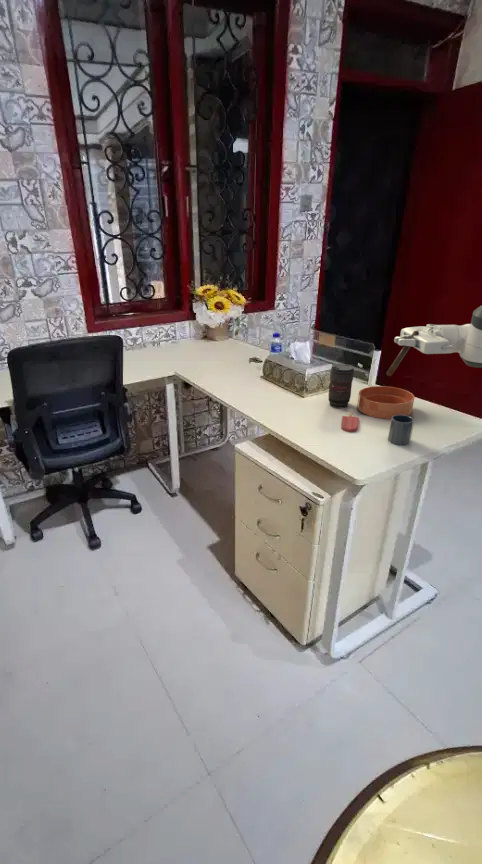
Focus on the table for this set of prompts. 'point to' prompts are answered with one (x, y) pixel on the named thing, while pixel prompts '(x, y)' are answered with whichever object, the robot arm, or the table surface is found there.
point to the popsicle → (349, 423)
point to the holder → (400, 429)
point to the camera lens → (340, 385)
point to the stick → (400, 355)
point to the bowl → (385, 401)
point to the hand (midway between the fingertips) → (396, 341)
